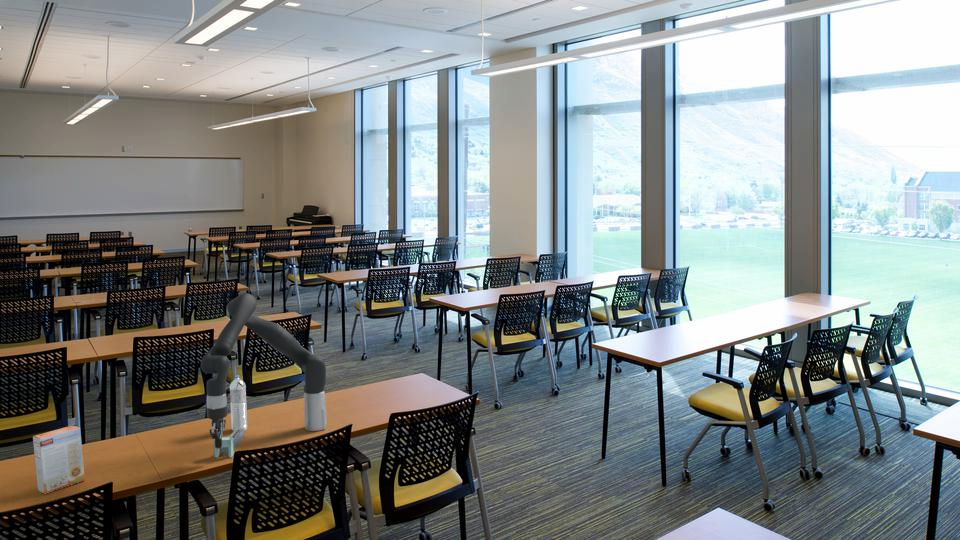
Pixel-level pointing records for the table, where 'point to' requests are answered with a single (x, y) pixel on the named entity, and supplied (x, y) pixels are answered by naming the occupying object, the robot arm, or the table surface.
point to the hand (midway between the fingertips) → (218, 447)
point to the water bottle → (238, 404)
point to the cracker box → (58, 458)
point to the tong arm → (234, 433)
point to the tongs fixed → (234, 442)
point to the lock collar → (225, 443)
